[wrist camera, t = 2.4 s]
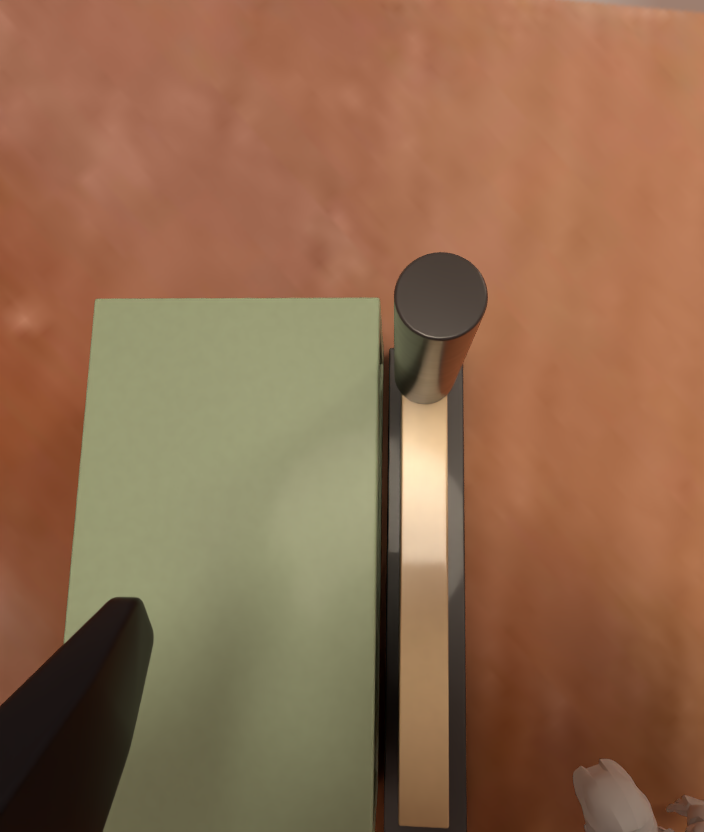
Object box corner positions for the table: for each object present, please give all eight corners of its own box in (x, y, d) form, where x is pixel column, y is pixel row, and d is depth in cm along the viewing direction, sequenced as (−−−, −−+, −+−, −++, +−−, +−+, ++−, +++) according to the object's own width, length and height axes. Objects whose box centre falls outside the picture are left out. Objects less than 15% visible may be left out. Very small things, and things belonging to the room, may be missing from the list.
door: (444, 762, 19) (499, 1036, 9) (391, 759, 19) (386, 1027, 9) (442, 374, 21) (487, 239, 11) (394, 374, 21) (394, 240, 11)
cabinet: (466, 1007, 18) (495, 1209, 13) (121, 981, 19) (14, 1162, 14) (461, 352, 22) (483, 296, 16) (166, 351, 22) (94, 297, 17)
